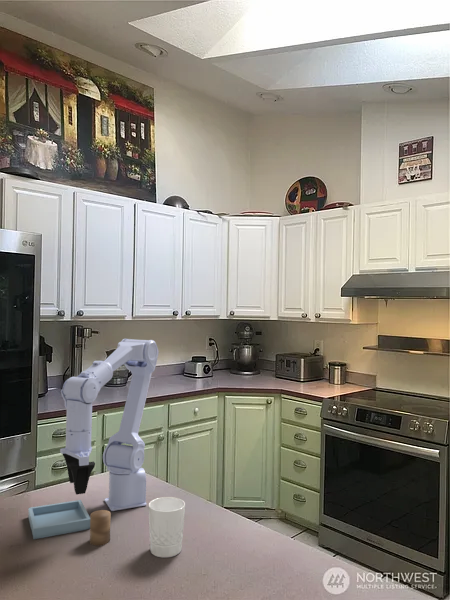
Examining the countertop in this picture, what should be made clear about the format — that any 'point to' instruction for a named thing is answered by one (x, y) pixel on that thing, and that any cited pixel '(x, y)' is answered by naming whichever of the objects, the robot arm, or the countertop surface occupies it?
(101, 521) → the tan rounded cylinder
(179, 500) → the white cup
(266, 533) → the countertop surface
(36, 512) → the light blue square tray
